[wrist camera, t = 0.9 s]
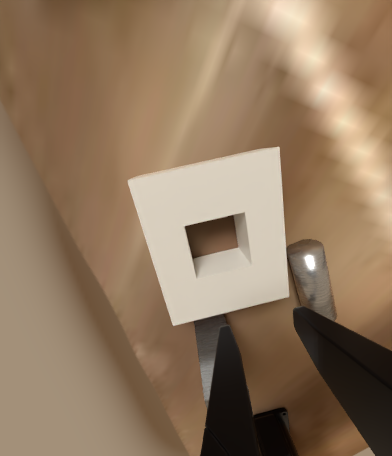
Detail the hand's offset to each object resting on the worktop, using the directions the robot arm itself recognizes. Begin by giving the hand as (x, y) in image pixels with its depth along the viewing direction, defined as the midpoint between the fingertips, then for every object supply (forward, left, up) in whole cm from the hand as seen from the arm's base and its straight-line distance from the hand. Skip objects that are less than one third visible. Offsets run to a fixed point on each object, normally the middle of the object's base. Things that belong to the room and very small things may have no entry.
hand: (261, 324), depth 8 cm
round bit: (-7, -9, -11) cm, 16 cm away
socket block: (0, 0, -11) cm, 11 cm away
